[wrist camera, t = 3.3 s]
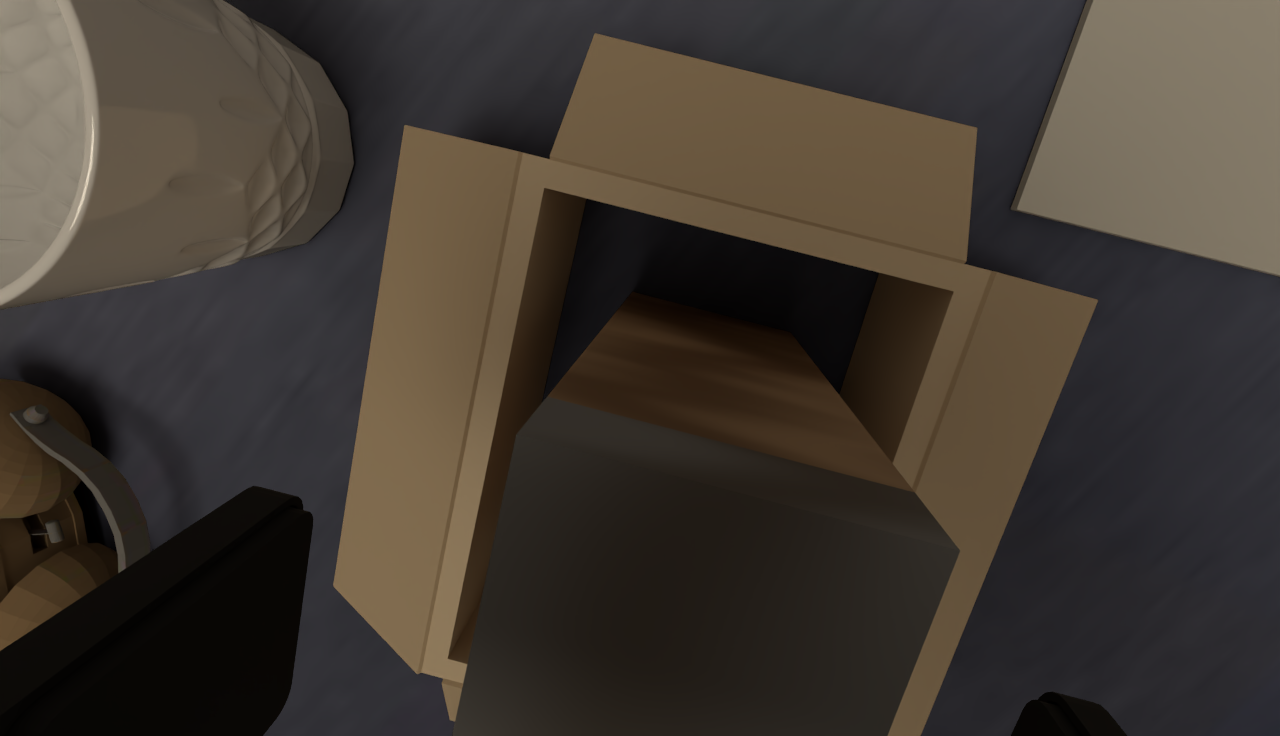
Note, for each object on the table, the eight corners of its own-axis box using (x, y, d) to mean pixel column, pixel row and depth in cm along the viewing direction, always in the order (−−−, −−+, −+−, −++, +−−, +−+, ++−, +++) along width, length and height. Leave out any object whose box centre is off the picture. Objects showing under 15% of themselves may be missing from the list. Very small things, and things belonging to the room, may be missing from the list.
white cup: (331, 311, 22) (45, 390, 12) (104, 212, 22) (-365, 213, 12) (409, 68, 20) (144, -64, 11) (161, -41, 20) (-339, -278, 10)
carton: (1068, 181, 19) (1231, 168, 14) (856, 736, 24) (909, 909, 18) (472, 33, 20) (376, -44, 14) (373, 606, 24) (269, 733, 18)
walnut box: (790, 332, 21) (960, 551, 7) (729, 534, 23) (776, 1016, 9) (632, 291, 21) (515, 434, 8) (582, 496, 23) (413, 914, 9)
